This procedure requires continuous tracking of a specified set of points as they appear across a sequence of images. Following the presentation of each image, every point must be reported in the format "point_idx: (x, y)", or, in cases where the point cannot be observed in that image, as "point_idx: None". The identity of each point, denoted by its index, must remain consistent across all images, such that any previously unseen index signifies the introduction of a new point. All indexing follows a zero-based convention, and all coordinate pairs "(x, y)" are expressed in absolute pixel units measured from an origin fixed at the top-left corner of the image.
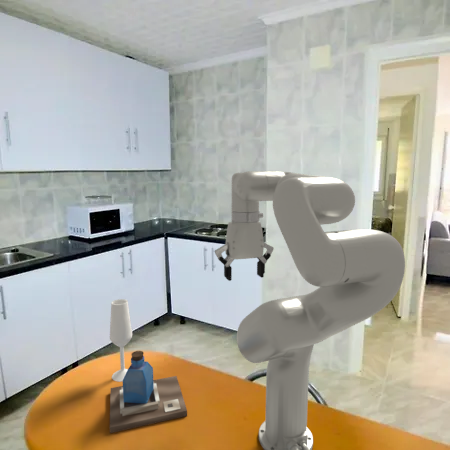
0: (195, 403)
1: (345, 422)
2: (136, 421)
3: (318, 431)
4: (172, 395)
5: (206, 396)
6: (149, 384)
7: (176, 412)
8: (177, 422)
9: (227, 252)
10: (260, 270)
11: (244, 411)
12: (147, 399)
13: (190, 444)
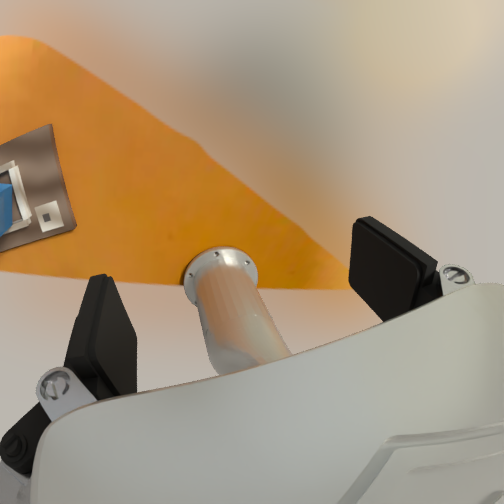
0: (87, 195)
1: (312, 255)
2: (11, 247)
3: (270, 268)
4: (46, 188)
5: (107, 176)
6: (1, 216)
7: (59, 232)
8: (65, 238)
9: (53, 447)
10: (373, 298)
11: (171, 221)
12: (10, 223)
13: (89, 278)
